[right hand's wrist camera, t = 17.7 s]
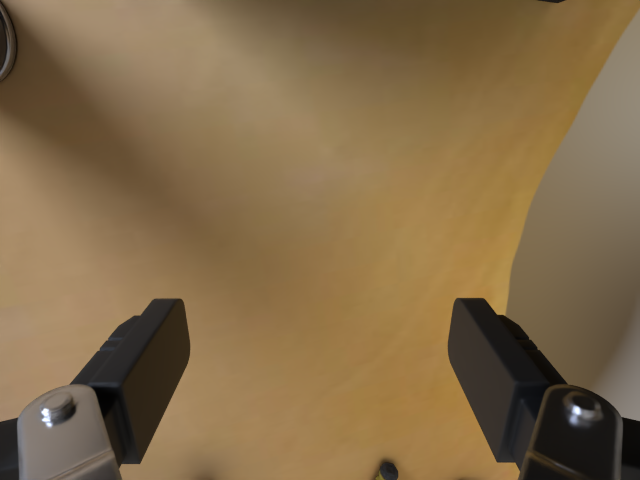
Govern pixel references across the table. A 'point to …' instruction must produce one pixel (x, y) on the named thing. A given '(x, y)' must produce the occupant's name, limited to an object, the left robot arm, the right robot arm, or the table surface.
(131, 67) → the table surface
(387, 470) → the toy gun
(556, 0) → the cardboard box
